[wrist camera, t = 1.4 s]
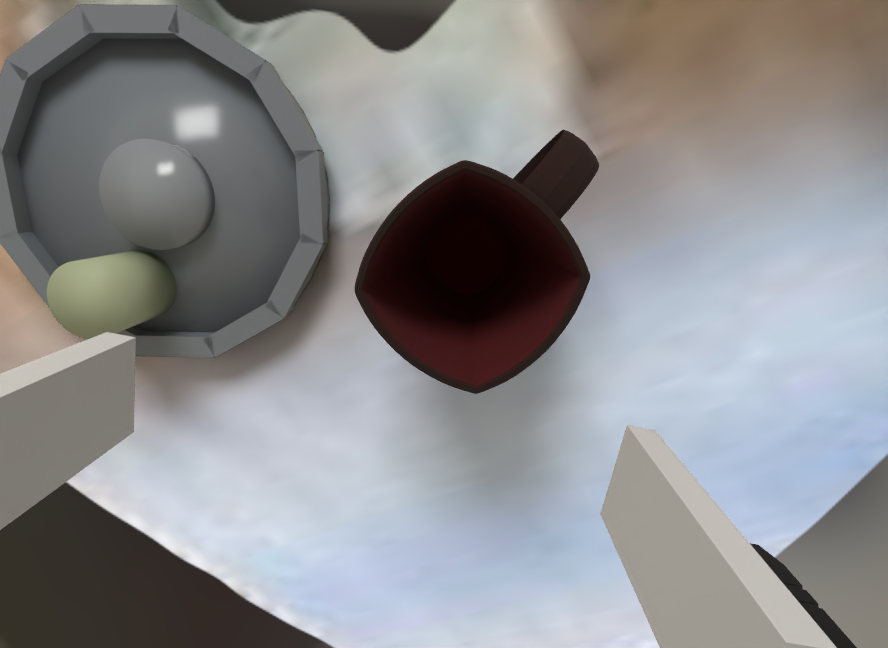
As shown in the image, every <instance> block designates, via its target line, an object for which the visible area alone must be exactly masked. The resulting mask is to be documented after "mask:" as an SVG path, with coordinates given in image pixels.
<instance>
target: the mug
mask: <svg viewBox="0 0 888 648" xmlns="http://www.w3.org/2000/svg"><path fill="white" fill-rule="evenodd" d="M598 168H599V163H598V161H597V158H596V156H595V155H594V154H593V152H592V151H591V150H590V148H589V147H588V146H587V144H586V143H585V142H584V141H582V140H581V139H580V138H578V137H577V136H575V135H574V134H572V133H571V132H569V131H566V130H562V131H561V132H559V133H558V134H557V135H556V136H555V137H554V138H553V139H552V140H551V141H550V142H548V143H547V144H546V145H545V146H544V147H543V148H542V149H541V150H540V151H539V152H538V153H537V154H536V155H535V156H534V157H533V158H532V159H531V161H530V162H529V163H528V164H527V165H526V166H525V167H524V168H523V169H522V170H521V171H520V172H519V173H518V174H517V175H516V176H515V177H514V178H513V179H512V178H510V177H508V176H507V175H505V174H503V173H501V172H499V171H496V170H494V169H492V168H489V167H486V166H483V165H480V164H477V163H474V162H471V161H466V160H464V161H460V162H458V163H456V164H454V165H452V166H450V167H448V168H445V169H443V170H442V171H440V172H438V173H436V174H435V175H433V176H432V177H430V178H429V179H427V180H425V181H424V182H423V183H421V184H420V185H419V186H417V187H416V188H415V189H414V190H413V191H412V192H410V193H409V194H408V195H407V196H406V197H405V198H404V199H403V200H402V201H401V202H400V203H399V204H398V205H397V206H396V207H395V208H394V209H393V210H392V212H391V213H390V214H389V215H388V217H387V218H386V219H385V220H384V222H383V223H382V225H381V226H380V228H379V229H378V231H377V232H376V234H375V236H374V237H373V239H372V241H371V242H370V244H369V246H368V248H367V250H366V253H365V255H364V257H363V260H362V262H361V265H360V268H359V272H358V276H357V279H356V283H355V294H356V297H357V299H358V301H359V303H360V305H361V307H362V308H363V310H364V312H365V314H366V316H367V317H368V319H369V320H370V322H371V323H372V325H373V326H374V328H375V329H376V330H377V331H378V333H379V334H380V335H381V336H382V337H383V339H384V340H385V341H386V342H387V343H388V344H389V345H390V346H391V347H392V348H393V349H394V350H395V351H396V352H397V353H398V354H399V355H400V356H402V357H403V358H404V359H405V360H406V361H408V362H409V363H410V364H412V365H413V366H415V367H416V368H418V369H419V370H420V371H422V372H424V373H425V374H427V375H429V376H431V377H432V378H434V379H436V380H438V381H440V382H443V383H445V384H447V385H450V386H452V387H455V388H458V389H461V390H464V391H467V392H471V393H475V394H477V393H481V392H483V391H486V390H488V389H491V388H493V387H495V386H498V385H500V384H502V383H504V382H506V381H508V380H509V379H511V378H513V377H514V376H516V375H517V374H519V373H520V372H522V371H523V370H524V369H526V368H527V367H528V366H530V365H531V364H532V363H533V362H535V361H536V360H537V359H538V358H539V357H540V356H541V355H542V354H543V353H545V352H546V351H547V350H548V349H549V347H550V346H551V345H552V344H553V343H554V342H555V341H556V339H557V338H558V337H559V336H560V334H561V333H562V332H563V330H564V329H565V328H566V326H567V325H568V323H569V322H570V320H571V319H572V317H573V315H574V314H575V312H576V310H577V308H578V306H579V304H580V302H581V300H582V298H583V295H584V293H585V290H586V288H587V285H588V283H589V280H590V273H589V271H588V268H587V266H586V263H585V261H584V258H583V256H582V254H581V252H580V250H579V248H578V246H577V244H576V242H575V240H574V239H573V237H572V236H571V234H570V232H569V231H568V229H567V228H566V227H565V225H564V224H563V223H562V221H561V220H560V219H561V218H562V217H563V216H564V214H565V213H566V212H567V211H568V210H569V209H570V207H571V206H572V205H573V204H574V203H575V201H576V200H577V199H578V198H579V197H580V195H581V194H582V193H583V191H584V190H585V189H586V187H587V186H588V185H589V183H590V182H591V180H592V179H593V177H594V176H595V174H596V172H597V171H598Z"/></svg>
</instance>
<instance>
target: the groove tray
mask: <svg viewBox="0 0 888 648" xmlns="http://www.w3.org/2000/svg"><path fill="white" fill-rule="evenodd" d="M322 151H323V150H322V148H321V146H320V145H319V143H318V141H317V139H316V136H315V134H314V131H313V129H312V127H311V126H310V124H309V122H308V120H307V118H306V116H305V114H304V112H303V110H302V109H301V107H300V106H299V104H298V103H297V101H296V100H295V98H294V97H293V95H292V94H291V92H290V91H289V90H288V89H287V87H286V86H285V85H284V83H283V81H282V80H281V78H280V76H279V74H278V73H277V71H276V69H275V68H274V66H273V65H272V64H270V63H269V62H268V61H266V60H265V59H263V58H261V57H260V56H258V55H257V54H255V53H253V52H252V51H250V50H248V49H247V48H245V47H244V46H242V45H240V44H239V43H237V42H236V41H234V40H232V39H231V38H229V37H228V36H226V35H224V34H223V33H221V32H220V31H218V30H216V29H215V28H213V27H211V26H210V25H208V24H207V23H205V22H203V21H202V20H200V19H199V18H197V17H195V16H194V15H192V14H191V13H189V12H187V11H186V10H184V9H183V8H181V7H179V6H177V5H88V4H80V5H78V6H76V7H75V8H74V9H72V10H71V11H70V12H68V13H67V14H66V15H64V16H63V17H61V18H60V19H59V20H57V21H56V22H55V23H53V24H52V25H50V26H49V27H48V28H46V29H45V30H44V31H42V32H41V33H40V34H38V35H37V36H35V37H34V38H33V39H31V40H30V41H29V42H27V43H26V44H25V45H23V46H22V47H20V48H19V49H18V50H16V51H15V52H14V53H12V54H11V55H10V56H8V57H7V59H5V62H4V65H3V68H2V71H1V74H0V244H1V245H2V246H3V248H4V249H5V250H6V251H7V253H8V254H9V255H10V257H11V258H12V259H13V261H14V262H15V263H16V265H17V266H18V267H19V269H20V270H21V271H22V272H23V274H24V275H25V276H26V278H27V279H28V280H29V282H30V283H31V284H32V286H33V287H34V288H35V290H36V291H37V292H38V293H39V295H40V296H41V297H42V299H43V300H44V301H45V303H46V304H47V305H48V307H49V304H48V300H47V285H48V282H49V279H50V277H51V275H52V274H53V272H54V271H55V270H56V269H57V268H58V267H60V266H61V265H63V264H65V263H68V262H71V261H77V260H82V259H88V258H94V257H100V256H105V255H111V254H117V253H123V252H128V251H135V250H140V251H146V252H150V253H152V254H154V255H156V256H158V257H159V258H161V259H162V260H163V261H164V262H165V263H166V264H167V265H168V266H169V268H170V269H171V271H172V272H173V275H174V277H175V280H176V285H177V294H176V298H175V301H174V303H173V305H172V306H171V307H170V309H169V310H168V311H166V312H165V313H164V314H162V315H160V316H157V317H155V318H152V319H150V320H147V321H145V322H142V323H140V324H137V325H135V326H132V327H130V328H128V329H125V330H123V331H120V332H118V333H115V334H120V335H126V336H131V337H136V352H135V356H162V357H207V358H214V357H217V356H219V355H221V354H222V353H224V352H226V351H228V350H229V349H231V348H233V347H235V346H236V345H238V344H240V343H242V342H243V341H245V340H247V339H249V338H251V337H252V336H254V335H256V334H258V333H259V332H261V331H263V330H265V329H266V328H268V327H270V326H272V325H273V324H275V323H277V322H279V321H281V320H282V319H284V318H285V317H287V316H288V315H289V314H290V313H291V311H292V309H293V307H294V305H295V303H296V302H297V300H298V298H299V296H300V295H301V294H302V293H303V291H304V290H305V288H306V286H307V285H308V283H309V282H310V280H311V278H312V277H313V274H314V272H315V270H316V268H317V265H318V263H319V261H320V258H321V255H322V252H323V251H324V249H325V247H326V245H327V243H326V242H328V239H327V229H328V223H329V189H328V180H327V174H326V169H325V165H324V152H322ZM49 308H50V307H49Z"/></svg>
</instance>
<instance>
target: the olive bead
mask: <svg viewBox="0 0 888 648" xmlns="http://www.w3.org/2000/svg"><path fill="white" fill-rule="evenodd" d="M176 294H177V285H176V280H175V277H174V275H173V272H172V271H171V269H170V268H169V266H168V265H167V264H166V263H165V262H164V261H163V260H162V259H161V258H159V257H158V256H156V255H154V254H152V253H150V252H146V251H140V250H135V251H128V252H123V253H117V254H111V255H105V256H100V257H94V258H88V259H82V260H77V261H71V262H68V263H65V264H63V265H61V266H60V267H58V268H57V269H56V270H55V271H54V272H53V274H52V275H51V277H50V279H49V282H48V285H47V300H48V304H49V307H50V309H51V311H52V313H53V315H54V317H55V318H56V320H57V321H58V322H59V323H60V324H61V325H62V326H63V327H64V328H65V329H67V330H68V331H70V332H71V333H73V334H75V335H77V336H80V337H83V338H87V339H90V338H93V337H95V336H98V335H100V334H103V333H106V332H109V333H118V332H120V331H123V330H125V329H128V328H130V327H132V326H135V325H137V324H140V323H142V322H145V321H147V320H150V319H152V318H155V317H157V316H160V315H162V314H164V313H165V312H166V311H168V310H169V309H170V307H171V306H172V305H173V303H174V301H175V298H176Z"/></svg>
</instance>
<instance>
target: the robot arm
mask: <svg viewBox="0 0 888 648" xmlns="http://www.w3.org/2000/svg"><path fill="white" fill-rule="evenodd" d="M135 352H136V337H131V336H126V335H120V334H115V333H109V332H106V333H103V334H100V335H98V336H95V337H93V338H90V339H88V340H85V341H83V342H80V343H77V344H75V345H72V346H70V347H67V348H65V349H62V350H60V351H57V352H55V353H52V354H49V355H47V356H44V357H42V358H39V359H37V360H34V361H32V362H29V363H26V364H24V365H21V366H19V367H16V368H14V369H11V370H9V371H6V372H4V373H1V374H0V530H1V529H2V528H3V527H5V526H6V525H7V524H9V523H10V522H12V521H13V520H14V519H16V518H17V517H18V516H20V515H21V514H23V513H24V512H25V511H26V510H28V509H29V508H31V507H32V506H33V505H35V504H36V503H37V502H39V501H40V500H41V499H43V498H44V497H46V496H47V495H48V494H50V493H51V492H53V491H54V490H55V489H57V488H58V487H59V486H61V485H62V484H63V483H65V482H66V481H68V480H69V479H70V478H72V477H73V476H74V475H76V474H77V473H78V472H80V471H81V470H83V469H84V468H85V467H87V466H88V465H89V464H91V463H92V462H93V461H95V460H96V459H98V458H99V457H100V456H102V455H103V454H104V453H106V452H107V451H108V450H110V449H111V448H113V447H114V446H115V445H117V444H118V443H119V442H121V441H122V440H123V439H125V438H126V437H128V436H129V435H130V434H132V433H133V432H134V396H135ZM601 516H602V519H603V521H604V523H605V525H606V528H607V530H608V532H609V534H610V536H611V539H612V541H613V543H614V545H615V548H616V550H617V552H618V554H619V557H620V559H621V561H622V563H623V566H624V568H625V570H626V572H627V575H628V577H629V579H630V581H631V584H632V586H633V588H634V590H635V593H636V595H637V597H638V599H639V602H640V604H641V606H642V608H643V611H644V613H645V615H646V617H647V620H648V622H649V624H650V626H651V629H652V631H653V633H654V635H655V637H656V640H657V642H658V644H659V646H660V648H857V647H855V645H854V644H853V643H852V642H851V641H850V639H849V638H848V637H847V636H846V635H845V634H844V633H843V632H842V631H841V629H840V628H839V627H838V626H837V625H836V624H835V622H834V621H833V620H832V619H831V618H830V617H829V616H828V615H827V614H826V612H825V611H824V610H823V609H821V608H819V607H818V603H817V602H816V601H815V600H814V599H813V597H812V596H811V595H810V594H809V593H808V592H807V591H806V590H803V589H802V585H801V584H800V583H799V581H798V580H797V579H796V578H795V577H794V576H793V575H792V574H791V572H790V571H789V570H788V569H787V568H786V567H785V566H784V565H783V564H782V563H781V562H780V561H778V560H777V559H776V558H774V557H773V556H772V555H771V554H769V553H768V552H767V551H765V550H764V549H763V548H761V547H760V546H759V545H756V544H750V543H749V542H748V541H747V540H746V538H745V537H744V536H743V535H742V534H741V532H740V531H739V530H738V529H737V528H736V526H735V525H734V524H733V523H732V522H731V520H730V519H729V518H728V517H727V516H726V515H725V513H724V512H723V511H722V510H721V509H720V507H719V506H718V505H717V504H716V503H715V501H714V500H713V499H712V498H711V497H710V495H709V494H708V493H707V492H706V491H705V489H704V488H703V487H702V486H701V485H700V483H699V482H698V481H697V480H696V479H695V477H694V476H693V475H692V474H691V473H690V471H689V470H688V469H687V468H686V467H685V465H684V464H683V463H682V462H681V461H680V459H679V458H678V457H677V456H676V455H675V453H674V452H673V451H672V450H671V449H670V447H669V446H668V445H667V444H666V443H665V441H664V440H663V439H662V438H661V437H660V435H659V434H658V433H657V432H656V431H655V430H651V429H645V428H640V427H634V426H628V425H627V427H626V430H625V434H624V437H623V440H622V444H621V447H620V450H619V454H618V457H617V460H616V464H615V467H614V470H613V474H612V477H611V480H610V484H609V487H608V490H607V494H606V497H605V500H604V504H603V507H602V510H601Z"/></svg>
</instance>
